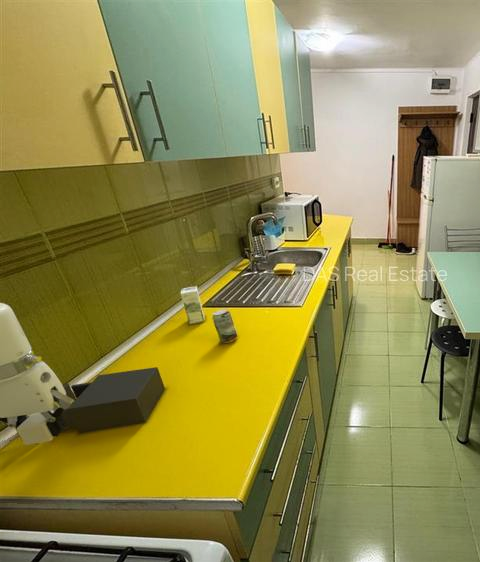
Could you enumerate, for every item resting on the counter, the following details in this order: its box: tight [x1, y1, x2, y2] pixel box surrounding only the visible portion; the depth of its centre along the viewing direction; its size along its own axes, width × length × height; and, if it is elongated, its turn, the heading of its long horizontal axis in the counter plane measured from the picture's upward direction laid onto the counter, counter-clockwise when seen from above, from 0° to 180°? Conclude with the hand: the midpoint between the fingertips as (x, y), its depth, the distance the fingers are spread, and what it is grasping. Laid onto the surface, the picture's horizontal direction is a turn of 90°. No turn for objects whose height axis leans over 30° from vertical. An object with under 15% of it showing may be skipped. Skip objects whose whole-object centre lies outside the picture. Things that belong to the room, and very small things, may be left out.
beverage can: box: [211, 308, 238, 344], centre depth 112 cm, size 6×7×12 cm
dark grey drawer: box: [5, 381, 93, 430], centre depth 79 cm, size 21×11×6 cm, turn 103°
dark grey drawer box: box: [67, 366, 166, 435], centre depth 81 cm, size 15×13×8 cm
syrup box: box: [180, 285, 205, 325], centre depth 125 cm, size 6×6×14 cm
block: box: [15, 410, 55, 446], centre depth 65 cm, size 4×4×4 cm
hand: (45, 432), depth 66 cm, fingers closed on block, 4 cm apart
